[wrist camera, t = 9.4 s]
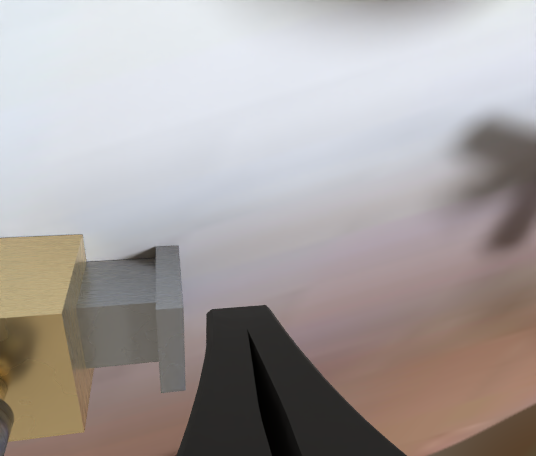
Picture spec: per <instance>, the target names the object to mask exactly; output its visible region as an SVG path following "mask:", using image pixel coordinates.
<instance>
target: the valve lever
mask: <svg viewBox="0 0 536 456" xmlns="http://www.w3.org/2000/svg"><path fill="white" fill-rule="evenodd" d="M13 423H14V414H13V411H12V409H11V407H10V406H9V405H8V404H7V403H6V402H5V401H3V400H2V399H0V456H4V453H5V449H6V446H7V443H8V439H9V436H10V433H11V430H12V426H13Z"/></svg>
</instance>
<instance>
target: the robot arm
mask: <svg viewBox="0 0 536 456" xmlns="http://www.w3.org/2000/svg"><path fill="white" fill-rule="evenodd" d="M177 456H407V455H405V454H404V453H403V452H402V451H401V450H399V449H398V448H397V447H396V446H395V445H394V444H392V443H391V442H390V441H389V440H388V439H386V438H385V437H384V436H383V435H382V434H381V433H380V432H379V431H377V430H376V429H375V428H374V427H373V426H372V425H371V424H370V423H369V422H367V421H366V420H365V419H364V418H363V417H362V416H361V415H360V414H359V413H358V412H357V411H356V410H355V409H354V408H353V407H352V406H351V405H350V404H349V403H348V402H347V401H346V400H345V399H344V398H343V397H342V396H341V395H340V394H339V393H338V392H337V391H336V390H335V389H334V388H333V387H332V385H331V384H330V383H329V382H328V381H327V380H326V379H325V378H324V377H323V376H322V374H321V373H320V372H319V371H318V370H317V369H316V367H315V366H314V365H313V364H312V363H311V362H310V361H309V359H308V358H307V357H306V356H305V355H304V353H303V352H302V351H301V350H300V349H299V347H298V346H297V345H296V344H295V342H294V341H293V340H292V338H291V337H290V336H289V335H288V333H287V332H286V331H285V329H284V328H283V327H282V325H281V324H280V323H279V321H278V320H277V318H276V317H275V316H274V314H273V313H272V311H271V310H270V309H269V308H268V307H267V306H266V305H261V306H248V307H235V308H223V309H212V310H210V311H209V312H208V313H207V328H206V353H205V359H204V363H203V368H202V373H201V378H200V382H199V386H198V390H197V394H196V397H195V401H194V404H193V408H192V411H191V414H190V418H189V421H188V424H187V427H186V430H185V433H184V436H183V439H182V442H181V445H180V448H179V450H178V453H177Z"/></svg>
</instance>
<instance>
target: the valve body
mask: <svg viewBox="0 0 536 456" xmlns="http://www.w3.org/2000/svg"><path fill="white" fill-rule="evenodd" d="M158 361H159V369H160V384H161V393H167V392H175V391H184V390H186V389H185V352H184V315H183V298H182V285H181V272H180V259H179V246H164V247H156V258H150V259H131V260H113V261H95V262H86V255H85V249H84V242H83V235H60V236H36V237H13V238H0V399H2V400H3V401H5V402H6V403H7V404H8V405H9V406H10V407H11V409H12V411H13V414H14V423H13V426H12V430H11V433H10V436H9V439H8V442H10V441H18V440H26V439H34V438H42V437H50V436H58V435H66V434H74V433H81V432H84V430H85V424H86V417H87V410H88V404H89V397H90V390H91V384H92V377H93V371H94V368H98V367H108V366H118V365H128V364H138V363H148V362H158Z"/></svg>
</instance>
